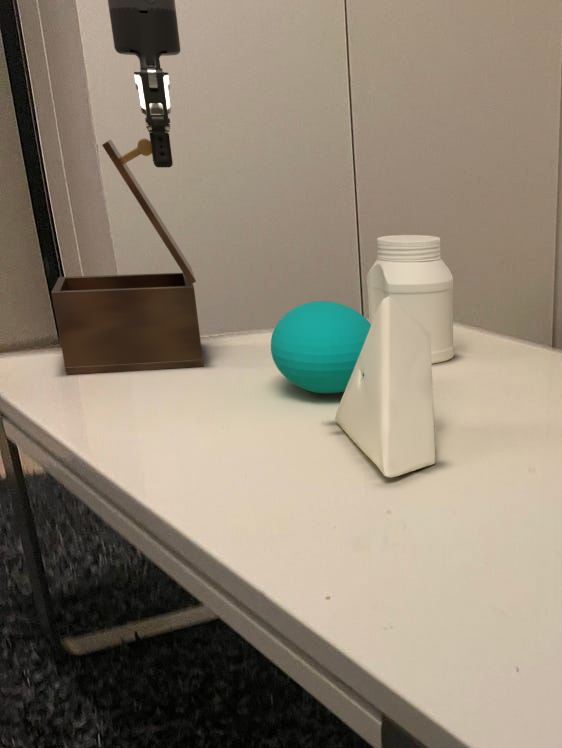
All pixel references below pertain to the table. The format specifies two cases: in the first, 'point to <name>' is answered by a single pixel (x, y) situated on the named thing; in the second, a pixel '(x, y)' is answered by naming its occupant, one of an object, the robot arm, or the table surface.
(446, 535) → the table surface
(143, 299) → the chest
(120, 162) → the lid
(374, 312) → the jar
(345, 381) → the toy
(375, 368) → the white wedge
